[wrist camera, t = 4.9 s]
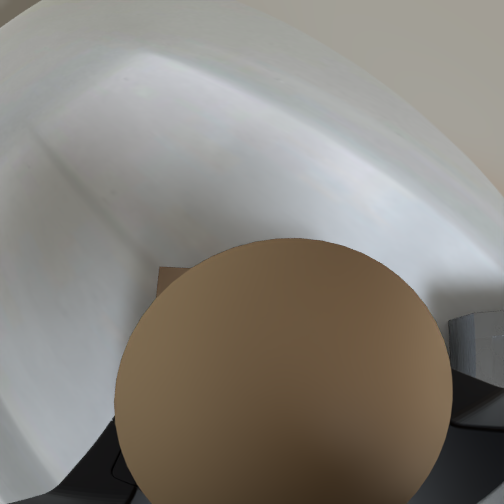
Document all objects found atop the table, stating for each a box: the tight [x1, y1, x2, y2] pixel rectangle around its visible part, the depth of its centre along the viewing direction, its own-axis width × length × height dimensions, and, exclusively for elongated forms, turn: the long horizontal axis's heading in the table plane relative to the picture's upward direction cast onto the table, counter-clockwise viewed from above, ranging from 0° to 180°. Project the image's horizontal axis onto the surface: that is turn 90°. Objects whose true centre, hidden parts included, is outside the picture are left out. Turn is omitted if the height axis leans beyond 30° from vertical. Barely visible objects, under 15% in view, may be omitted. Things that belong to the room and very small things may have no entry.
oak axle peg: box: [114, 238, 453, 504], centre depth 9 cm, size 4×4×12 cm
